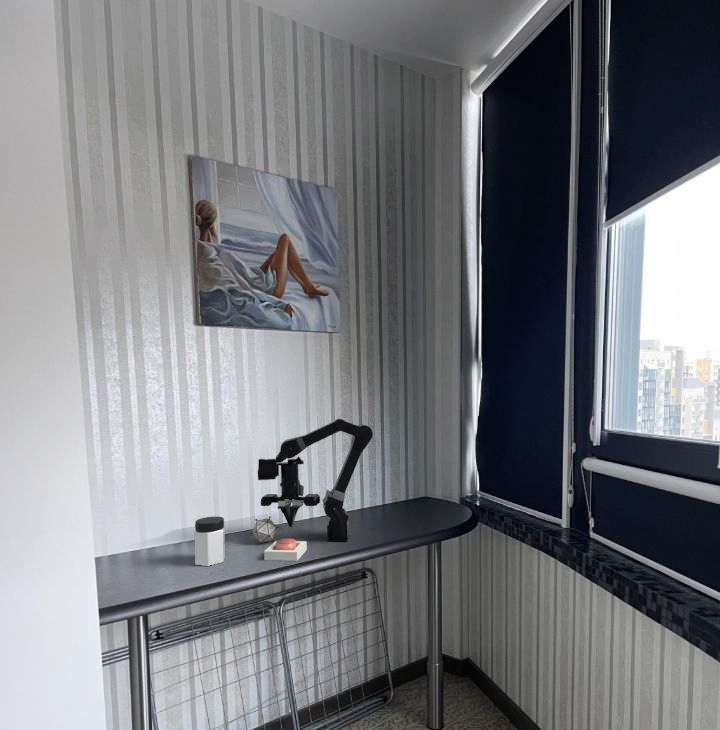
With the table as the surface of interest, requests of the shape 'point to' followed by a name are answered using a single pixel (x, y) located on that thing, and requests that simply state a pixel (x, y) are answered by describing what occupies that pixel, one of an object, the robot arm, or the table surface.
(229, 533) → the table surface
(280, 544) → the popper button
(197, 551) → the jar
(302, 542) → the base
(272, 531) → the grey icosahedron ornament
